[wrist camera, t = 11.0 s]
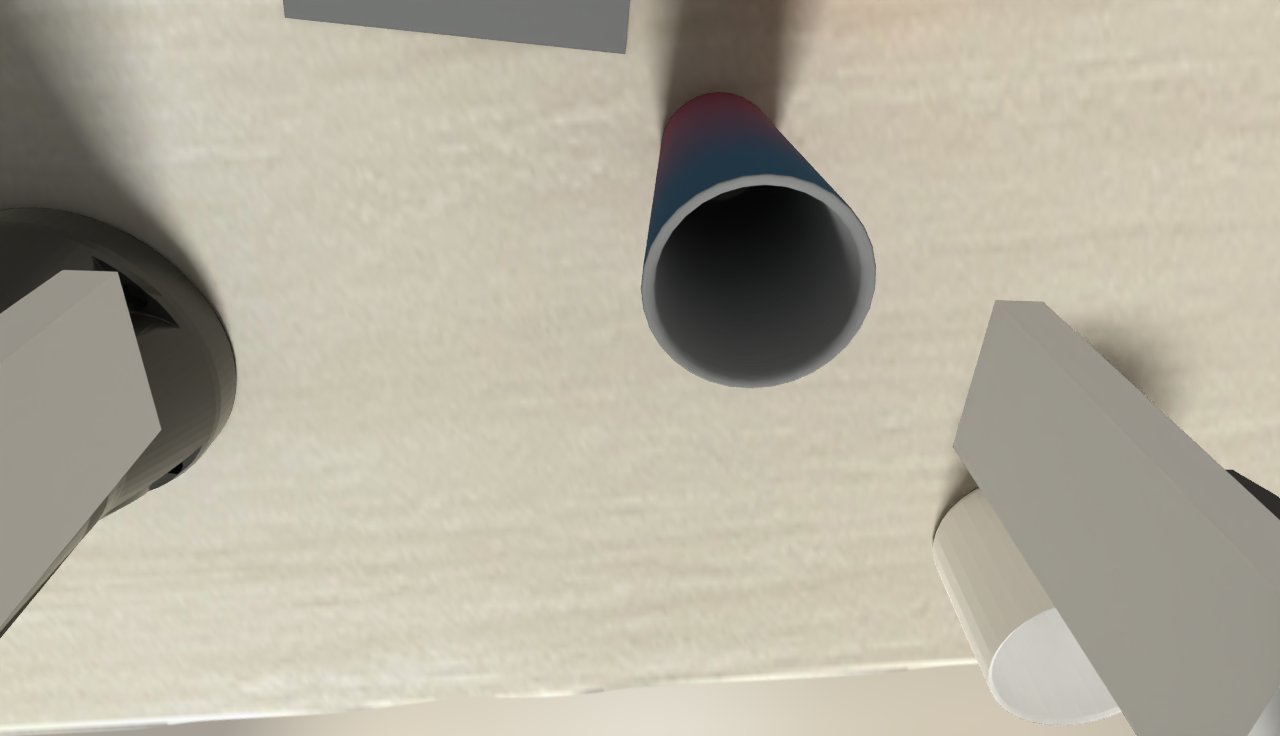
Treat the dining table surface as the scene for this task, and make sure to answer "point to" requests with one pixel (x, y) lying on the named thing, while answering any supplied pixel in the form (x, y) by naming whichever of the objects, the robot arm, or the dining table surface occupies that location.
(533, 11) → the mat
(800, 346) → the cup
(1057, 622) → the mug
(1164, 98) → the dining table surface
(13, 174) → the dining table surface
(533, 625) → the dining table surface
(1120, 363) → the dining table surface
